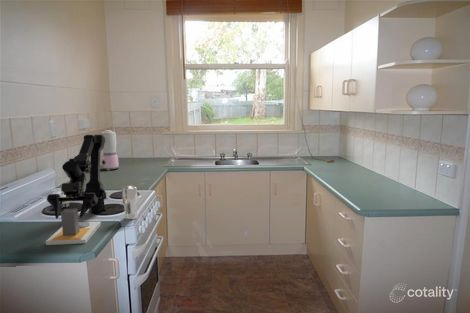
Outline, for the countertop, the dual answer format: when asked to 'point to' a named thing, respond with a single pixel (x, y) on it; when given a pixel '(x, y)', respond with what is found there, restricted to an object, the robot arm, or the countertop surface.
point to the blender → (109, 151)
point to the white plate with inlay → (82, 237)
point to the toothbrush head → (64, 204)
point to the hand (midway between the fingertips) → (68, 218)
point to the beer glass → (130, 201)
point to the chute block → (70, 222)
